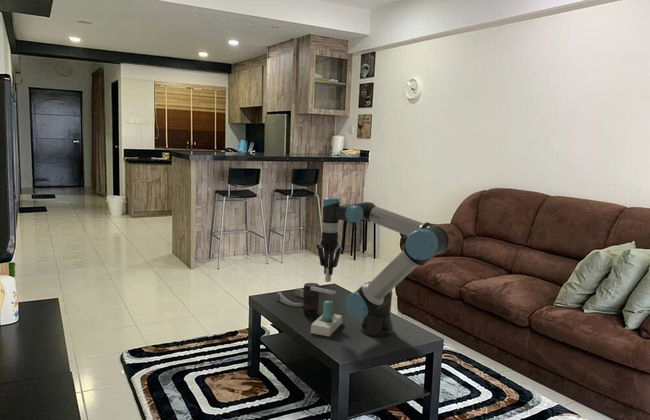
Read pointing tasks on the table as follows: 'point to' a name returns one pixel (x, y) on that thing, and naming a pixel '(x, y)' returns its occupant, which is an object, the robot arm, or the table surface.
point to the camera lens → (310, 299)
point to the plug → (327, 311)
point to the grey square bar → (323, 290)
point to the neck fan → (284, 300)
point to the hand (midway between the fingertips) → (328, 281)
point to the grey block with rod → (327, 323)
